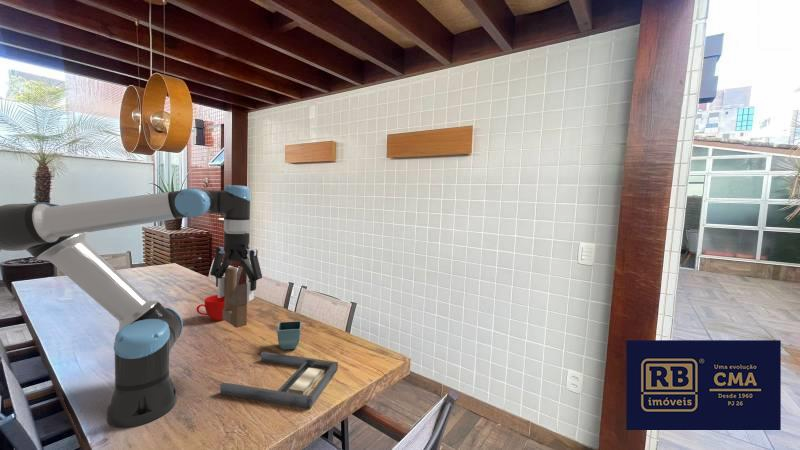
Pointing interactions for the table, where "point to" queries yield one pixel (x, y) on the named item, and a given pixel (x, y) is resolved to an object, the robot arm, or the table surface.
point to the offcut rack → (282, 394)
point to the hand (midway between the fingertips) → (235, 298)
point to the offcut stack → (306, 381)
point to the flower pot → (289, 334)
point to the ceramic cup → (213, 307)
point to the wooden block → (235, 299)
